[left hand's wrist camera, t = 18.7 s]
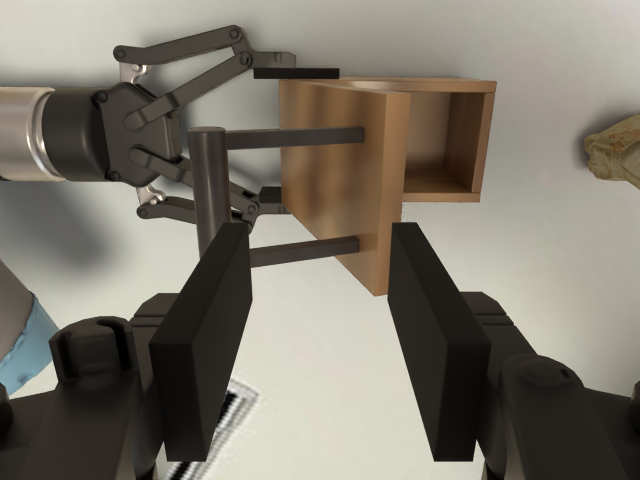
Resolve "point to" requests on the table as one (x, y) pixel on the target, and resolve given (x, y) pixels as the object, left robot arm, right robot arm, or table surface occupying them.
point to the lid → (319, 175)
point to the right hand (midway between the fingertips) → (337, 137)
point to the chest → (440, 133)
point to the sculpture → (616, 152)
